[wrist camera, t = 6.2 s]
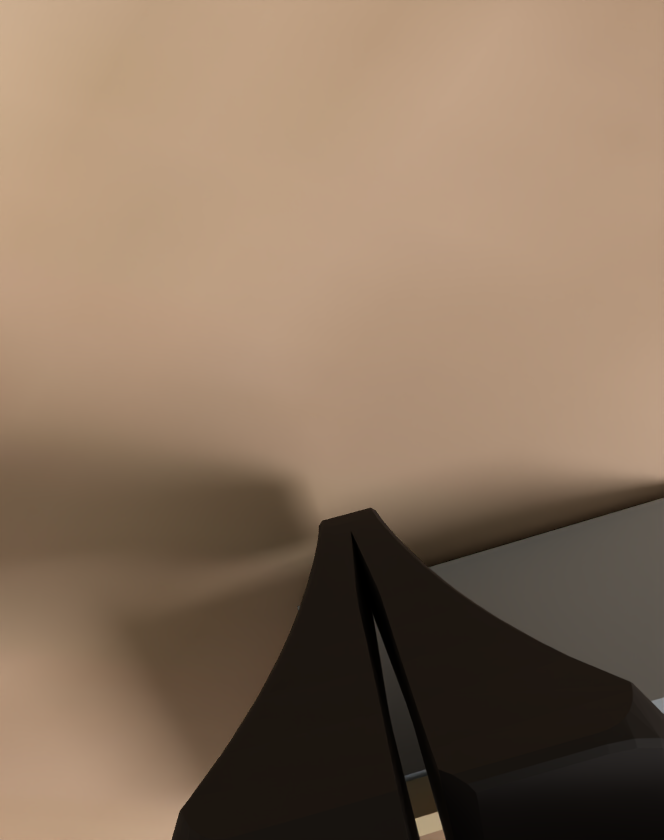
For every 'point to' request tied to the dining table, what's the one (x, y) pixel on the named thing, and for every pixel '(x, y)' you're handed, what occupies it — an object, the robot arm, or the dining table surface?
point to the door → (560, 612)
